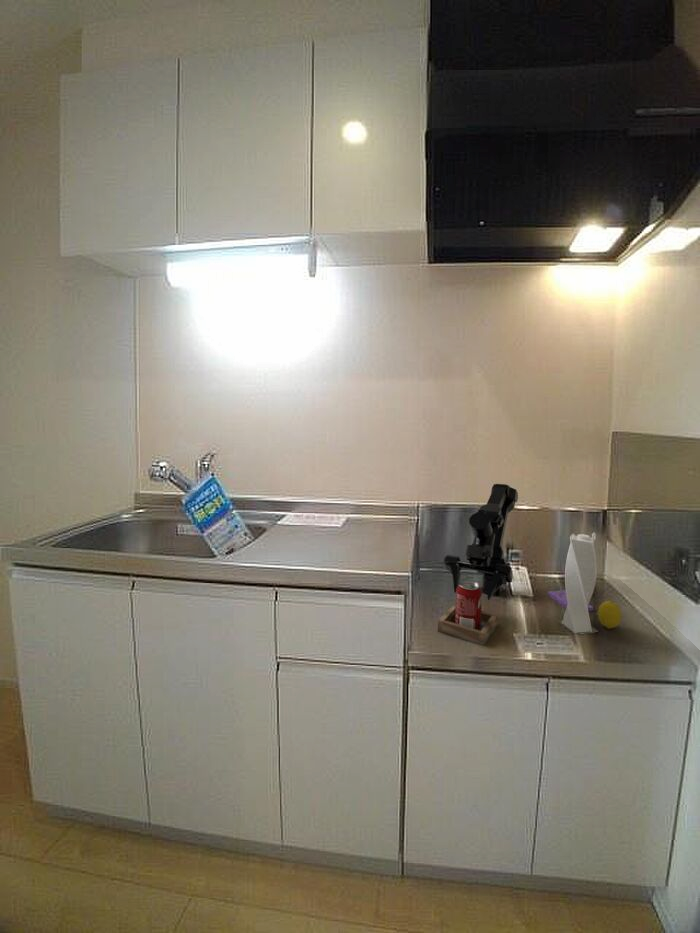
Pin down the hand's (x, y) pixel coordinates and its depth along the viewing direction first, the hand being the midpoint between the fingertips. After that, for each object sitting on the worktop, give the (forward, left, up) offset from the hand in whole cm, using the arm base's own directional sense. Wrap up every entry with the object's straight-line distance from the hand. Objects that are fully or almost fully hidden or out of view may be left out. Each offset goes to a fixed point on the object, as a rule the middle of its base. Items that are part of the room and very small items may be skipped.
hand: (471, 595), depth 119 cm
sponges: (-31, +21, -9) cm, 39 cm away
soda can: (+3, 0, -8) cm, 8 cm away
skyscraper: (-14, +25, -8) cm, 30 cm away
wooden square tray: (+3, 0, -8) cm, 9 cm away
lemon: (-19, +32, -8) cm, 38 cm away
